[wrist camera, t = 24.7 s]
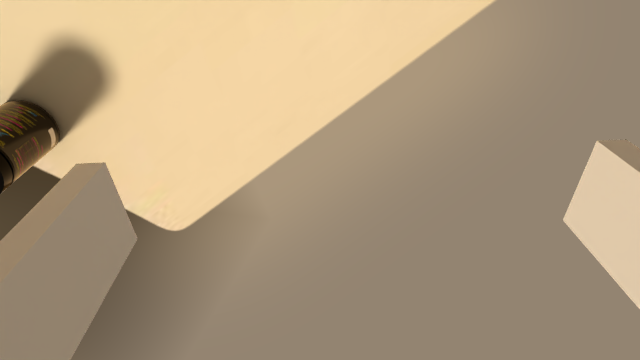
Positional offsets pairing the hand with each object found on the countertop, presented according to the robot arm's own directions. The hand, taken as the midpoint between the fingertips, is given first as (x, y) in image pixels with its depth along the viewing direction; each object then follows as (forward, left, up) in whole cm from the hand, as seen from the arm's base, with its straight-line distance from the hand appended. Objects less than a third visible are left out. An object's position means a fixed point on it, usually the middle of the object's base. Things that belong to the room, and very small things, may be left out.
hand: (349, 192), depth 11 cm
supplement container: (+12, -35, -33) cm, 50 cm away
